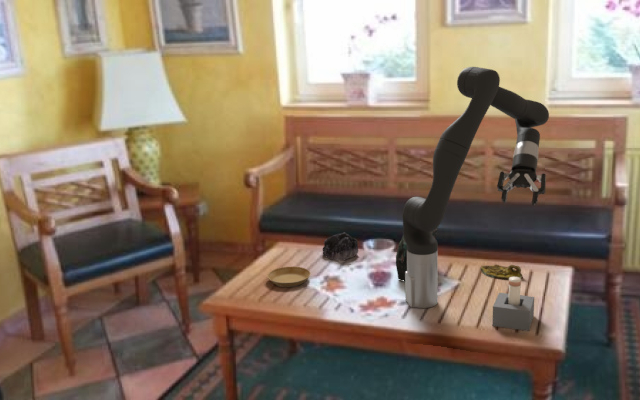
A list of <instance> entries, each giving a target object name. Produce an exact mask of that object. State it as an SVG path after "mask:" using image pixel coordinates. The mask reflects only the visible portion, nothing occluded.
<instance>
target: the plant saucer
mask: <svg viewBox="0 0 640 400" xmlns="http://www.w3.org/2000/svg"><path fill="white" fill-rule="evenodd" d="M310 276H311V271H310V270H309V269H307V268H305V267H301V266H284V267H283V266H282V267H279V268H275V269H273V270H271V271H269V272H268V274H267V279H268V280H270V282H271V283H272V284H274V285H275V286H277V287H280V288H281V287H283V288H293V287H297V286H300V285H302V284H304V283H305V282H306V281H307V280H308V279H309V278H310Z"/></svg>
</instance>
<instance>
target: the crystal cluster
mask: <svg viewBox="0 0 640 400" xmlns="http://www.w3.org/2000/svg"><path fill="white" fill-rule="evenodd" d="M323 244H324V246H323V247H322V256H323V257H325V258H327V259H330V260H335V261H344V260H347V259H350V258H353V257H355V256H356V255H358V254H359V245H358V244H359V242H358V240H357V238H355V237H352V236H351V235H349V234H348V233H346V232H345V231H343V232H342V233H337V234H334V235H331V236H330V237H328V238H326V239H325V240H324V242H323Z"/></svg>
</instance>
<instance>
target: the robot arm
mask: <svg viewBox="0 0 640 400" xmlns="http://www.w3.org/2000/svg"><path fill="white" fill-rule="evenodd" d="M500 80H501V79H500V74H499V73H498V72H497V71H496V70H494V69H491V68H485V67H478V66H468V67H465V68H463V69H462V70H461V72H460V73H459V75H458V76H457V81H456V85H457V89H458V91H459V93H460V94H462V96H464V97H466V98H470V99H471V100H470V101H469V104H468V106H467V107H466V109H465V111H464V112H463V113H462V114H461V115H459V117H458V118H457V119H455V120H454V121H453V123H451V124H450V125H449V126H448V127H447V128H446V129H445V130H444V131H443V132H442V133H441V136H440V138H438V139H439V140H438V142H437V144H436V146H435V148H434V152H433V157H432V183H431V185H430V186H431V187H430V188H429V192H428V194H427V196H426V198H424V197H421V196H413V197H411V198H409V199H408V200H407V201H406V203H404V207H403V211H402V227H403V228H402V230H403V232H402V233H403V235H404V240H405V243H406V245H407V271H406V272H405V282H404V283H405V284H404V285H405V288H404V289H405V301H406V303H407V304H408V305H409V306H410V307H411V308H419V309H423V308H424V309H428V308H433V307H434V306H436V305H437V304H438V299H439V297H438V296H439V295H438V293H439V292H438V284H439V283H438V274H439V273H438V268H439V267H438V262H439V260H438V255H439V254H438V253H439V251H438V241H437V239H436V238H434V237H433V236H432V234H431V232H432V231H434V230H436V229H437V228H439V226H440V225H441V223H442V221H443V219H444V217H445V213H446V211H447V207H448V204H449V201H450V198H451V194H452V192H453V189H454V186H455V184H456V183H457V182H456V181H457V179H458V177H459V174H460V173H461V172H460V171H461V169H462V166H463V164H464V163H465V161H466V158H467V156H468V154H469V151H470V148H471V146H472V143H473V140H474V139H475V137H476V135H477V132H478V130H479V128H480V126H481V124H482V121H483V119H484V118H485V116H486V114H487V112H488V110H489V109H490V107H493V108H495V109H496V110H498V111H500V112H501V113H503V114H505V115H507V116H509V117H510V118H512V119H514V122H515V127H516V135H517V137H516V143H515V147H514V151H513V156H512V162H511V163H512V164H511V169H510V172H509V173H505V172H504V171H500V173H499V177H498V181H497V184H496V187H497V191H498V192H501V201H502V202H503V204H504V205H505V204H507V199H508V192H509V191H512V190H513V189H515V187H516V188H518V189H519V188H523V189H530V191H532V199H531V206H534V207H535V205H537V204H538V199H539V195H545V194H546V184H547V182H546V181H547V177H546V174H545V173H542V174H537V168H538V163H539V162H538V161H539V146H540V140H541V133H540V132H539V130H538V129H536V128H535V127H539V126H543V125H545V124H546V123H547V122H548V120H549V119H550V113H549V110H548V108H547V107H546V106H545V105H544V104H543V103H542V102H539V101H536V100H532V99H526V98H524V97H522V96H521V95H519V94H517V93H516V92H515V91H512V90H509V89H506V88H504V87H501V86H500V83H501V81H500ZM507 179H509V180H508V181H507V183H506V184H505V185H504V182H505V181H506V180H507ZM537 180H538V182H539V183H540V187H539V188H538V186H537V185H536V184H535V182H536V181H537Z"/></svg>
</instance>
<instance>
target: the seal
mask: <svg viewBox="0 0 640 400" xmlns="http://www.w3.org/2000/svg"><path fill="white" fill-rule="evenodd" d="M480 271H481V273H482V274H483V275H485V276H487V277H490V278H492V279H498V280H505V281H509V278H510V277H519V278H521V280H522V279H523V274H522V268H521V266H519V265H515V264H509V266H503V265H499V264H496V263H495V264H494V265H482V266H480Z"/></svg>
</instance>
